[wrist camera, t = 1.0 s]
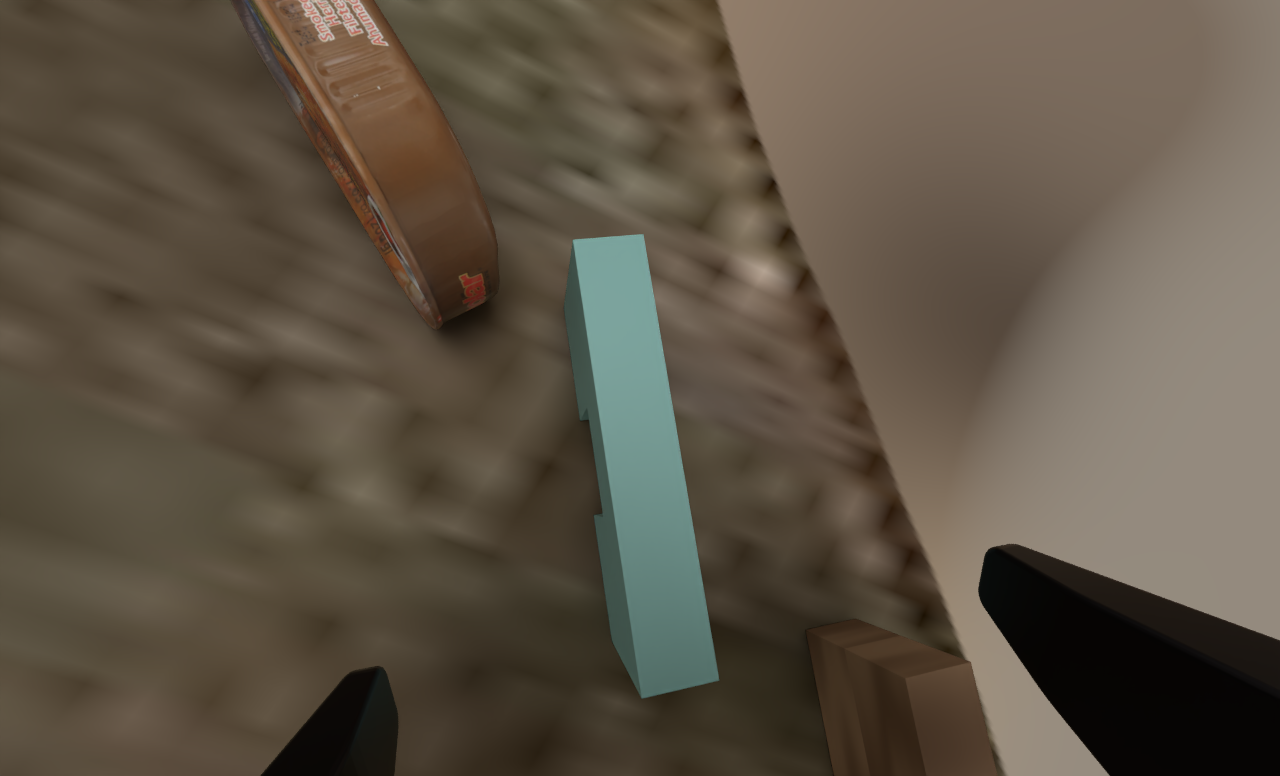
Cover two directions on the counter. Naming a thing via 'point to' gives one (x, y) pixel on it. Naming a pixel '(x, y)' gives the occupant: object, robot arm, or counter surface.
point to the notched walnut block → (896, 705)
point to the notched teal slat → (637, 469)
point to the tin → (383, 145)
